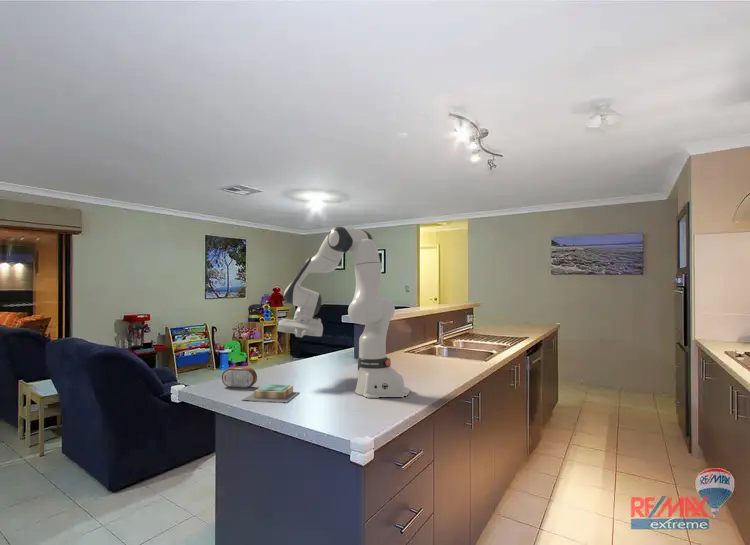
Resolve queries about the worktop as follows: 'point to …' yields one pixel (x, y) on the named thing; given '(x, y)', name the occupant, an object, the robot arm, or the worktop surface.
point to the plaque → (273, 391)
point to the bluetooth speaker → (239, 377)
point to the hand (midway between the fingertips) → (299, 335)
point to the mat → (286, 399)
